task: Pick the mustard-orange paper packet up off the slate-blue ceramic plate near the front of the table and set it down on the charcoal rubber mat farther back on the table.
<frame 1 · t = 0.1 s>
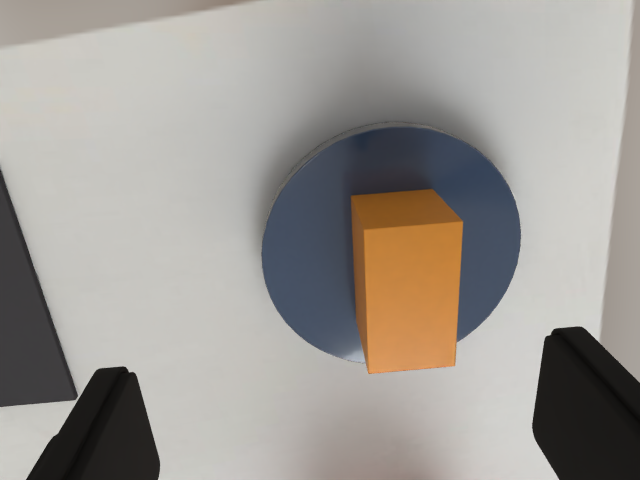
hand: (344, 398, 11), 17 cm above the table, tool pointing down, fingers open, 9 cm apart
plate: (387, 247, 28), on the table
packet: (392, 258, 27), point 1 cm above the table, touching plate
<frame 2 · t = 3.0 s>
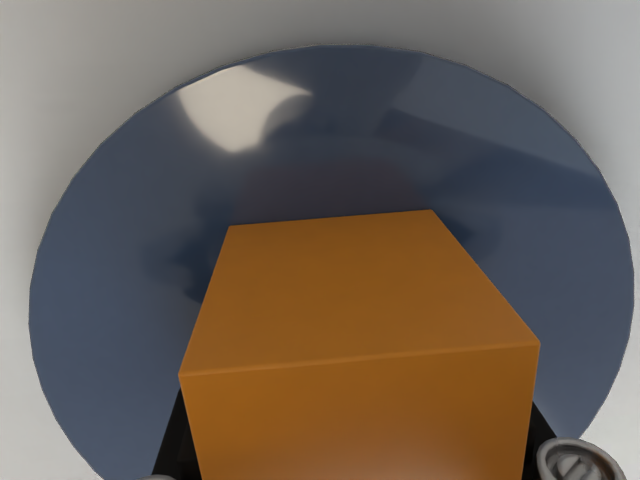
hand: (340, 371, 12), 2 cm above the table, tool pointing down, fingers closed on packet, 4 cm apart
plate: (335, 330, 13), on the table
packet: (339, 364, 12), point 2 cm above the table, touching gripper, plate
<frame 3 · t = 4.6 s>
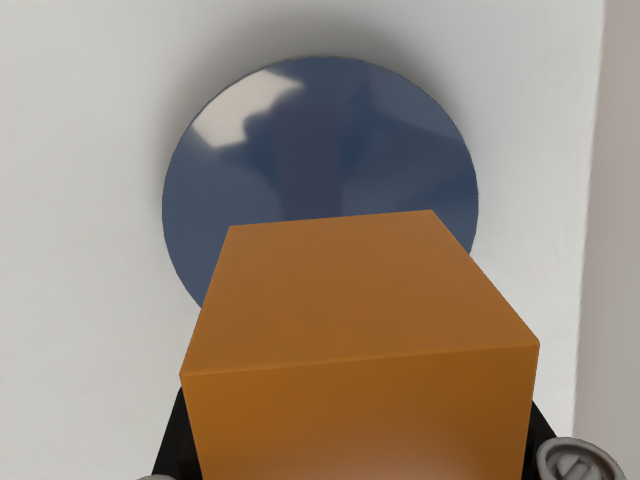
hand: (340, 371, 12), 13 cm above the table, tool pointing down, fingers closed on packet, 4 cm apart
plate: (321, 215, 24), on the table
packet: (340, 364, 12), point 13 cm above the table, touching gripper
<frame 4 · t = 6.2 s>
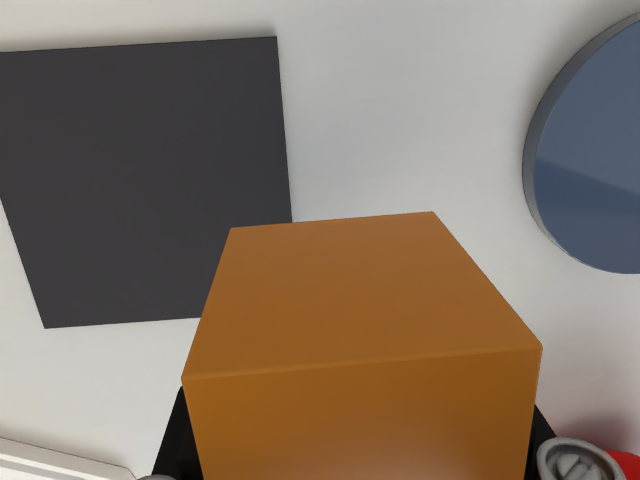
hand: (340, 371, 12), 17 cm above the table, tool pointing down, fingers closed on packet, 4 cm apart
mat: (149, 196, 27), on the table
packet: (341, 366, 12), point 16 cm above the table, touching gripper
tomato: (576, 469, 38), on the table
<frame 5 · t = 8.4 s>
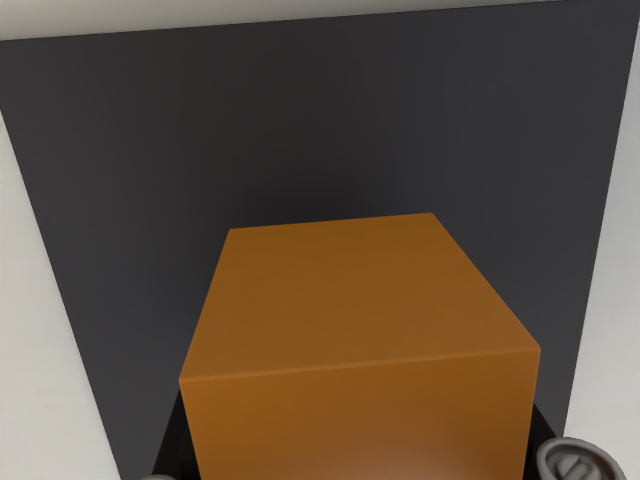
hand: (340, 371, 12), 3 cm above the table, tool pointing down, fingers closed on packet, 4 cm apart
mat: (333, 299, 15), on the table
packet: (340, 367, 12), point 3 cm above the table, touching gripper
when the fingers open (1 cm above the table, at t = 9.7 s): packet stays where it is, resting on mat.
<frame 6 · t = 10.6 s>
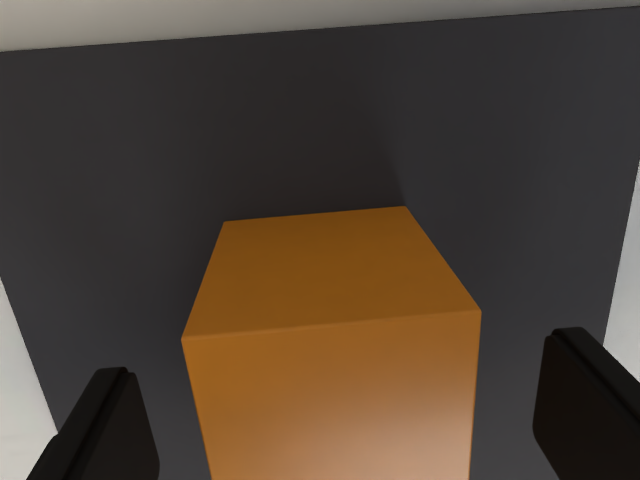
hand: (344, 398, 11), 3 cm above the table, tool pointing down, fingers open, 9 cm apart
mat: (326, 336, 13), on the table
packet: (325, 348, 13), resting on mat
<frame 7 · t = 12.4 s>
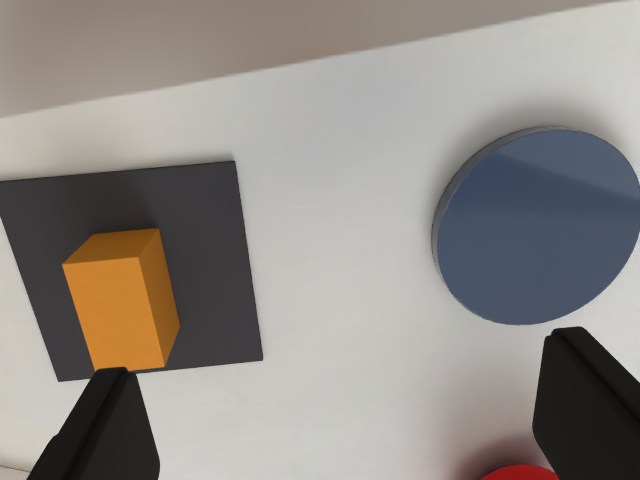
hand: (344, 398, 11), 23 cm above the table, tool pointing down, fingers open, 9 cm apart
plate: (530, 228, 35), on the table
mat: (140, 278, 34), on the table
packet: (138, 282, 34), resting on mat
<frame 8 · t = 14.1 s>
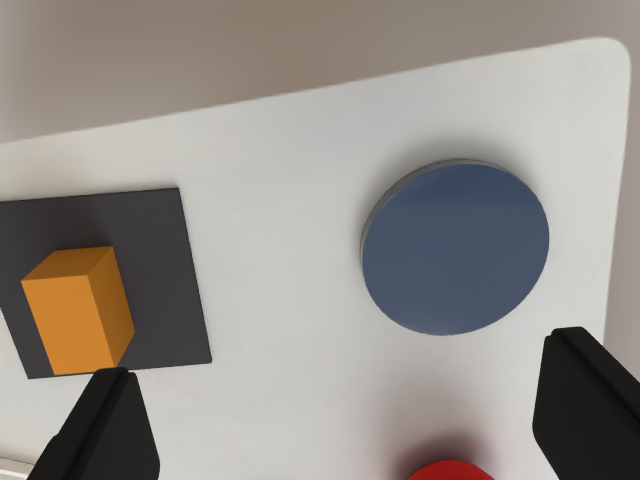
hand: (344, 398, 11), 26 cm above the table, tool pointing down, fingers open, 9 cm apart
plate: (450, 248, 39), on the table
mat: (98, 289, 38), on the table
packet: (96, 292, 38), resting on mat
tomato: (439, 474, 49), on the table
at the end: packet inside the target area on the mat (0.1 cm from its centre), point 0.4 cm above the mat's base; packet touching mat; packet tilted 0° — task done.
